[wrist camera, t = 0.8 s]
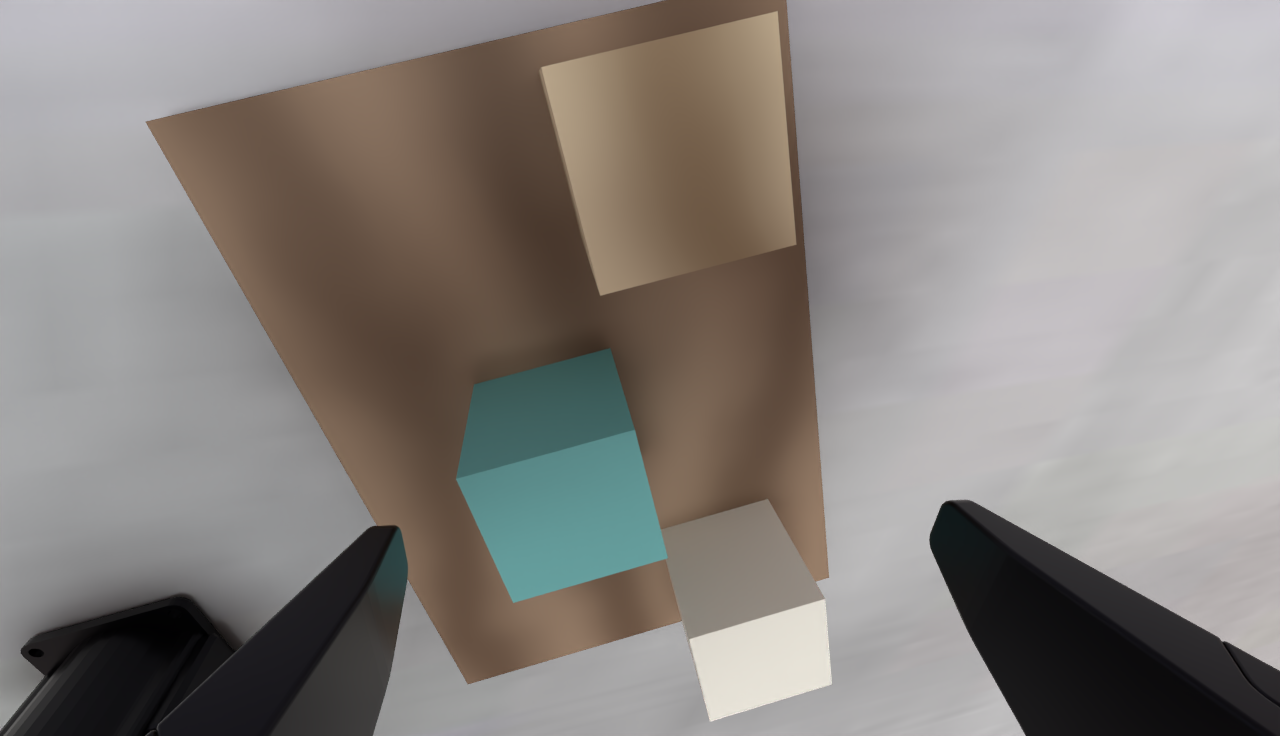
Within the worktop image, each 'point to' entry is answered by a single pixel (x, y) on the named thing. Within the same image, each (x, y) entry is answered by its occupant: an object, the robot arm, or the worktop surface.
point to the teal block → (558, 477)
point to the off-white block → (747, 609)
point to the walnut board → (500, 313)
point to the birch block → (676, 151)
